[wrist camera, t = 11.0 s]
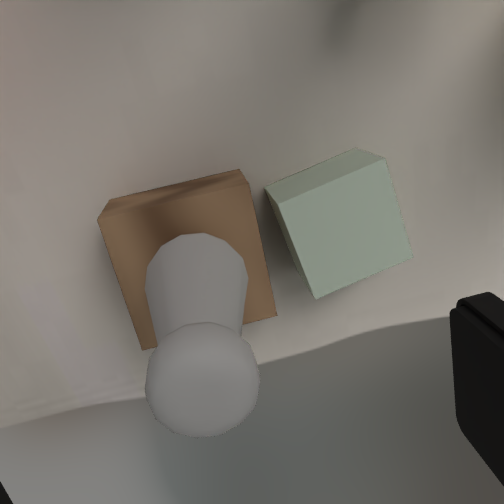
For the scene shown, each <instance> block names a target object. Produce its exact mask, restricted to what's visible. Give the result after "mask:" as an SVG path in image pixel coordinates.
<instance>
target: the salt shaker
mask: <svg viewBox="0 0 504 504" xmlns="http://www.w3.org/2000/svg"><path fill="white" fill-rule="evenodd" d="M247 285H248V275H247V271H246V268H245V264H244V260H243V258H242V257H241V256H240V255H239V254H238V253H237V252H236V251H235V250H234V249H233V248H232V247H231V246H230V245H229V244H228V243H227V242H226V241H225V240H222V239H220V238H217V237H214V236H212V235H209V234H207V233H195V234H185V235H180V236H178V237H176V238H174V239H173V240H171V241H169V242H167V243H165V244H164V245H162V246H161V247H160V248H159V250H158V251H157V253H156V254H155V256H154V257H153V259H152V260H151V262H150V263H149V265H148V266H147V272H146V281H145V293H146V297H147V301H148V305H149V310H150V314H151V318H152V323H153V327H154V331H155V336H156V340H157V344H158V346H157V348H156V349H155V351H154V352H153V353H152V355H151V356H150V359H149V364H148V369H147V377H146V384H145V393H146V399H147V401H148V403H149V406H150V408H151V410H152V412H153V414H154V416H155V419H156V420H158V421H159V422H160V423H162V424H163V425H164V426H165V427H167V428H168V429H169V430H170V431H172V432H173V433H177V434H181V435H185V436H191V437H194V438H199V437H208V436H216V435H221V434H223V433H225V432H227V431H229V430H230V429H232V428H234V427H236V426H238V425H239V424H241V423H242V422H243V421H244V420H245V418H246V417H247V416H248V415H249V414H250V412H251V411H252V410H253V409H254V407H255V406H256V402H257V397H258V392H259V387H260V372H259V369H258V366H257V363H256V360H255V356H254V353H253V351H252V348H251V346H250V345H249V344H248V343H247V342H246V341H245V340H244V339H243V338H242V337H241V332H242V323H243V314H244V305H245V298H246V291H247Z"/></svg>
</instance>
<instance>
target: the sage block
mask: <svg viewBox="0 0 504 504" xmlns="http://www.w3.org/2000/svg"><path fill="white" fill-rule="evenodd" d="M264 188H265V190H266V193H267V195H268V198H269V200H270V203H271V205H272V208H273V210H274V213H275V215H276V218H277V221H278V223H279V226H280V228H281V231H282V233H283V236H284V238H285V241H286V243H287V246H288V248H289V251H290V253H291V256H292V258H293V261H294V263H295V266H296V268H297V271H298V273H299V274H300V276H301V277H302V279H303V281H304V282H305V284H306V285H307V287H308V289H309V290H310V292H311V294H312V295H313V297H314V298H315V300H316V299H318V298H320V297H323V296H325V295H327V294H330V293H332V292H334V291H337V290H339V289H341V288H344V287H346V286H348V285H351V284H353V283H355V282H358V281H360V280H362V279H365V278H367V277H369V276H372V275H374V274H376V273H379V272H381V271H383V270H386V269H388V268H390V267H393V266H395V265H397V264H399V263H402V262H404V261H406V260H409V259H411V258H413V253H412V250H411V246H410V243H409V239H408V236H407V233H406V229H405V226H404V222H403V219H402V215H401V212H400V208H399V205H398V201H397V198H396V194H395V191H394V187H393V184H392V180H391V177H390V173H389V170H388V166H387V163H386V159H385V158H384V157H381V156H378V155H375V154H372V153H370V152H367V151H364V150H361V149H359V148H354V149H352V150H349V151H347V152H345V153H342V154H340V155H338V156H335V157H333V158H331V159H329V160H326V161H324V162H322V163H319V164H317V165H315V166H312V167H310V168H308V169H305V170H303V171H301V172H298V173H296V174H294V175H291V176H289V177H287V178H285V179H282V180H280V181H278V182H275V183H273V184H271V185H268V186H266V187H264Z"/></svg>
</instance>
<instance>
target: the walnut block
mask: <svg viewBox="0 0 504 504" xmlns="http://www.w3.org/2000/svg"><path fill="white" fill-rule="evenodd" d="M97 221H98V224H99V227H100V230H101V233H102V235H103V238H104V241H105V244H106V247H107V250H108V253H109V256H110V259H111V261H112V264H113V267H114V270H115V273H116V276H117V279H118V282H119V284H120V287H121V290H122V293H123V296H124V299H125V302H126V305H127V308H128V310H129V313H130V316H131V319H132V322H133V325H134V328H135V331H136V334H137V336H138V339H139V342H140V345H141V348H142V350H146V349H150V348H154V347H157V346H158V344H157V340H156V336H155V331H154V327H153V323H152V318H151V314H150V310H149V305H148V301H147V297H146V293H145V281H146V272H147V266H148V265H149V263H150V262H151V260H152V259H153V257H154V256H155V254H156V253H157V251H158V250H159V248H160V247H161V246H162V245H164V244H165V243H167V242H169V241H171V240H173V239H174V238H176V237H178V236H180V235H185V234H195V233H207V234H209V235H212V236H214V237H217V238H220V239H222V240H225V241H226V242H227V243H228V244H229V245H230V246H231V247H232V248H233V249H234V250H235V251H236V252H237V253H238V254H239V255H240V256H241V257H242V258H243V260H244V264H245V268H246V271H247V275H248V285H247V291H246V298H245V305H244V314H243V323H242V325H243V324H247V323H251V322H255V321H259V320H263V319H266V318H270V317H274V316H277V312H276V307H275V302H274V298H273V293H272V289H271V284H270V279H269V275H268V270H267V265H266V261H265V256H264V251H263V247H262V242H261V237H260V233H259V228H258V224H257V219H256V214H255V210H254V205H253V200H252V196H251V191H250V186H249V183H248V181H247V180H246V178H245V177H244V175H243V174H242V172H241V171H240V169H237V170H232V171H228V172H224V173H220V174H216V175H211V176H207V177H203V178H199V179H194V180H190V181H186V182H182V183H178V184H173V185H169V186H165V187H161V188H157V189H152V190H148V191H144V192H140V193H136V194H131V195H127V196H123V197H119V198H115V199H110V200H109V202H108V203H107V205H106V206H105V208H104V209H103V211H102V213H101V214H100V216H99V217H98V219H97Z"/></svg>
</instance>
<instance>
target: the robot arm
mask: <svg viewBox="0 0 504 504" xmlns="http://www.w3.org/2000/svg"><path fill="white" fill-rule="evenodd" d="M450 328H451V345H452V359H453V374H454V375H453V376H454V390H455V406H456V417H457V421H458V424H459V426H460V429H461V430H462V432H463V434H464V435H465V436H466V438H467V439H468V440H469V442H470V443H471V444H472V446H473V447H474V448H475V449H476V451H477V452H478V453H479V455H480V456H481V457H482V459H483V460H484V461H485V463H486V464H487V465H488V467H489V468H490V469H491V470H492V472H493V473H494V474H495V476H496V477H497V478H498V480H499V481H500V482H501V483H502V485H503V486H504V301H502V300H501V299H500V298H498V297H497V296H496V295H494V294H492V293H490V292H485V293H481V294H477V295H473V296H470V297H466V298H462V299H460V300H458V302H457V305H456V308H454V309H452V310H451V311H450ZM0 504H13V503H12V501H11V499H10V498H9V496H8V494H7V492H6V491H5V489H4V487H3V485H2V484H1V482H0Z"/></svg>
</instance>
